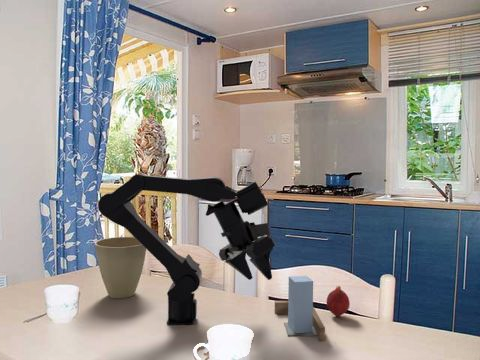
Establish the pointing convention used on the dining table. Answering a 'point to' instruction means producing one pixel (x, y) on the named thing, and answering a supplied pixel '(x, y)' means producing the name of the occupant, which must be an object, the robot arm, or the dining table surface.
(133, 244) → the plant pot
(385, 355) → the dining table surface
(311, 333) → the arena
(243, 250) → the robot arm
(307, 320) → the block
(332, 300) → the onion
